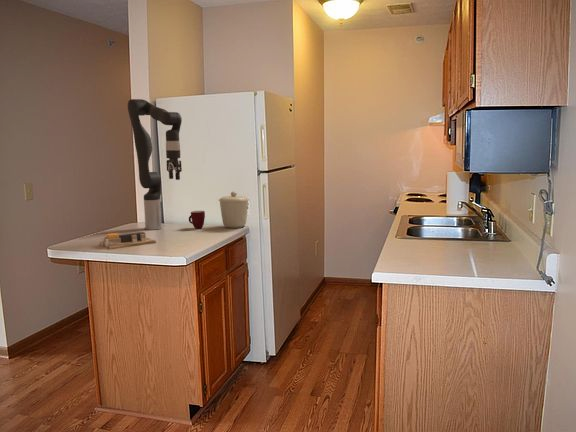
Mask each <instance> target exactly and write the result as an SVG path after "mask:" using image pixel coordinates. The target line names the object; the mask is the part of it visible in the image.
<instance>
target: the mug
mask: <svg viewBox="0 0 576 432" xmlns="http://www.w3.org/2000/svg"><path fill="white" fill-rule="evenodd" d="M205 213H206V212H205V210H191V211H190V215H189V217H188V221H189V223H190V224H192V226H193V228H194V229H195V230H201V229H203V227H204V225H205V220H206V219H205V218H206V214H205Z"/></svg>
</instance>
